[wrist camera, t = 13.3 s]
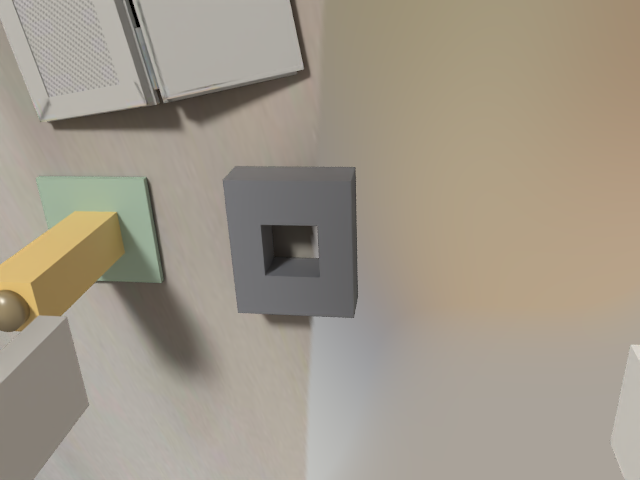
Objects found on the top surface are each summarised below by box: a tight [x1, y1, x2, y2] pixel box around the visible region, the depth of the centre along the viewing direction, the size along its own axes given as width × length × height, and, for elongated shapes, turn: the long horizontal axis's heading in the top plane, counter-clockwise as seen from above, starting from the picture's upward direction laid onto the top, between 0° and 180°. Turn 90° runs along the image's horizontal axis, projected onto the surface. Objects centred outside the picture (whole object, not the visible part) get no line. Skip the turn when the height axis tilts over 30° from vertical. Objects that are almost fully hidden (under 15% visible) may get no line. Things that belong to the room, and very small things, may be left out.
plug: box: [0, 211, 125, 332], centre depth 48 cm, size 4×4×14 cm
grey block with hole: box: [223, 166, 358, 318], centre depth 50 cm, size 12×10×4 cm
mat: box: [36, 176, 164, 283], centre depth 54 cm, size 10×10×1 cm
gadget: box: [0, 0, 304, 122], centre depth 44 cm, size 23×15×4 cm, turn 102°
